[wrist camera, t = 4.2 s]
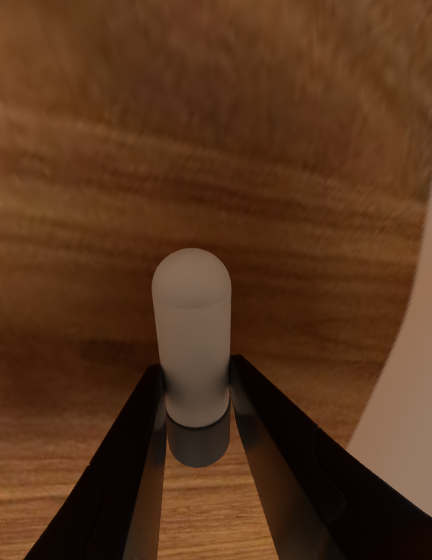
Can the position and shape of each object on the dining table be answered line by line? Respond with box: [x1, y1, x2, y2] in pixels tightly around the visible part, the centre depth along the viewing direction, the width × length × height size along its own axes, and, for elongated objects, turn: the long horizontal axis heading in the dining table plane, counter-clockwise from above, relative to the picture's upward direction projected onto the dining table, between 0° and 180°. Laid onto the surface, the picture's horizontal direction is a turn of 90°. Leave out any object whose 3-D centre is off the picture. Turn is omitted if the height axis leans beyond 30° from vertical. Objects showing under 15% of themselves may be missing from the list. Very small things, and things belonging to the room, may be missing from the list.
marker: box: [152, 248, 231, 468], centre depth 9 cm, size 2×8×2 cm, turn 0°
